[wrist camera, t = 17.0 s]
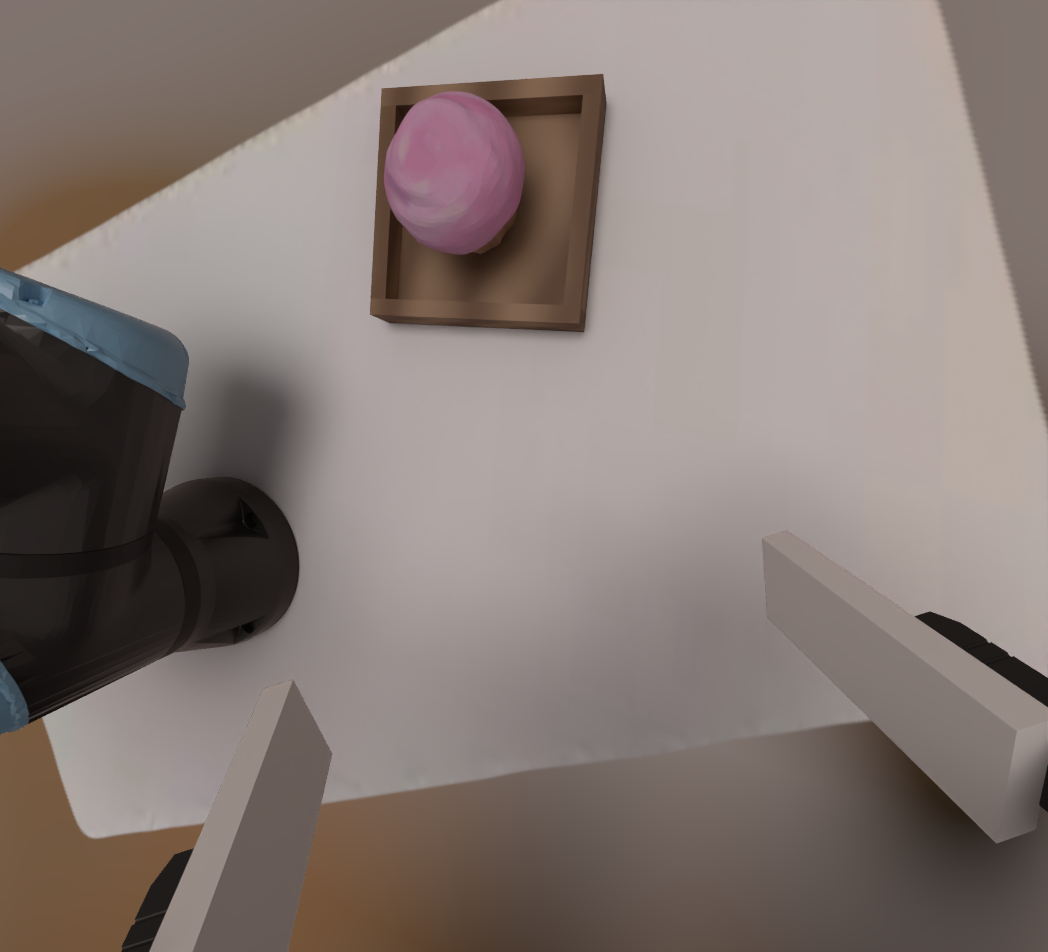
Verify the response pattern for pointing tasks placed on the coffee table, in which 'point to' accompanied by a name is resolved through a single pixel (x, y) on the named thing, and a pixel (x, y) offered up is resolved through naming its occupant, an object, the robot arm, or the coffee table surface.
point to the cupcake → (455, 173)
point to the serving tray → (535, 237)
